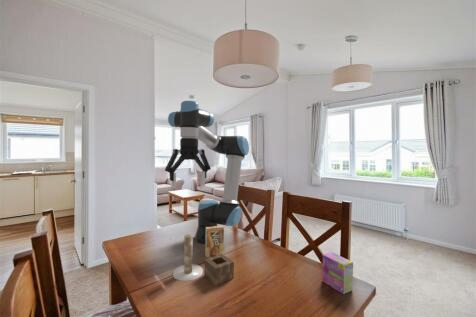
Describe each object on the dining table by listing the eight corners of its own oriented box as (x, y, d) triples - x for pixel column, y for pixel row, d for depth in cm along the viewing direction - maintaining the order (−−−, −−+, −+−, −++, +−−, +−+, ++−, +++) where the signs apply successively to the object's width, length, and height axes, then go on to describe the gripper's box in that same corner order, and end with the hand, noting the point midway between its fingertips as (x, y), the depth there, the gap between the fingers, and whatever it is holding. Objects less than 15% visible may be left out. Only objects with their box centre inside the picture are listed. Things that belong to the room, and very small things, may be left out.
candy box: (221, 253, 119) (221, 225, 118) (223, 257, 115) (224, 227, 114) (204, 255, 116) (205, 226, 115) (206, 259, 112) (207, 229, 111)
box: (321, 281, 96) (322, 254, 95) (330, 277, 99) (331, 251, 98) (343, 295, 87) (344, 265, 86) (352, 290, 90) (353, 262, 89)
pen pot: (221, 270, 102) (222, 253, 102) (233, 280, 95) (234, 261, 95) (204, 277, 97) (204, 259, 96) (215, 288, 90) (216, 268, 89)
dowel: (190, 268, 101) (190, 233, 101) (193, 272, 99) (194, 236, 98) (182, 271, 99) (183, 235, 99) (186, 274, 96) (186, 238, 96)
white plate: (194, 263, 108) (194, 261, 108) (208, 276, 98) (208, 273, 98) (168, 272, 100) (168, 269, 100) (180, 287, 90) (180, 284, 90)
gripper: (209, 139, 107) (209, 183, 108) (157, 136, 91) (156, 188, 92) (218, 139, 101) (217, 185, 102) (163, 136, 86) (163, 191, 87)
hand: (188, 187), depth 97 cm, fingers open, 13 cm apart
